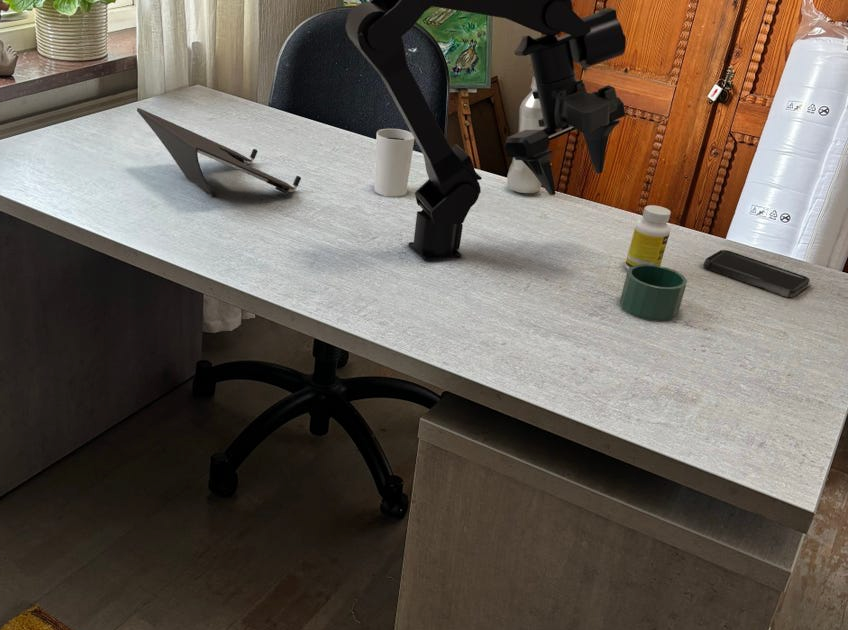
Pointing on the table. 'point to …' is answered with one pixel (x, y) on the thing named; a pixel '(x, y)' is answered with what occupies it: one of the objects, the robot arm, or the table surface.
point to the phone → (757, 273)
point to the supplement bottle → (649, 237)
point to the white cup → (393, 161)
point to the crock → (653, 292)
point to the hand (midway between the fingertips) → (576, 184)
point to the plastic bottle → (518, 172)
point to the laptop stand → (205, 153)
